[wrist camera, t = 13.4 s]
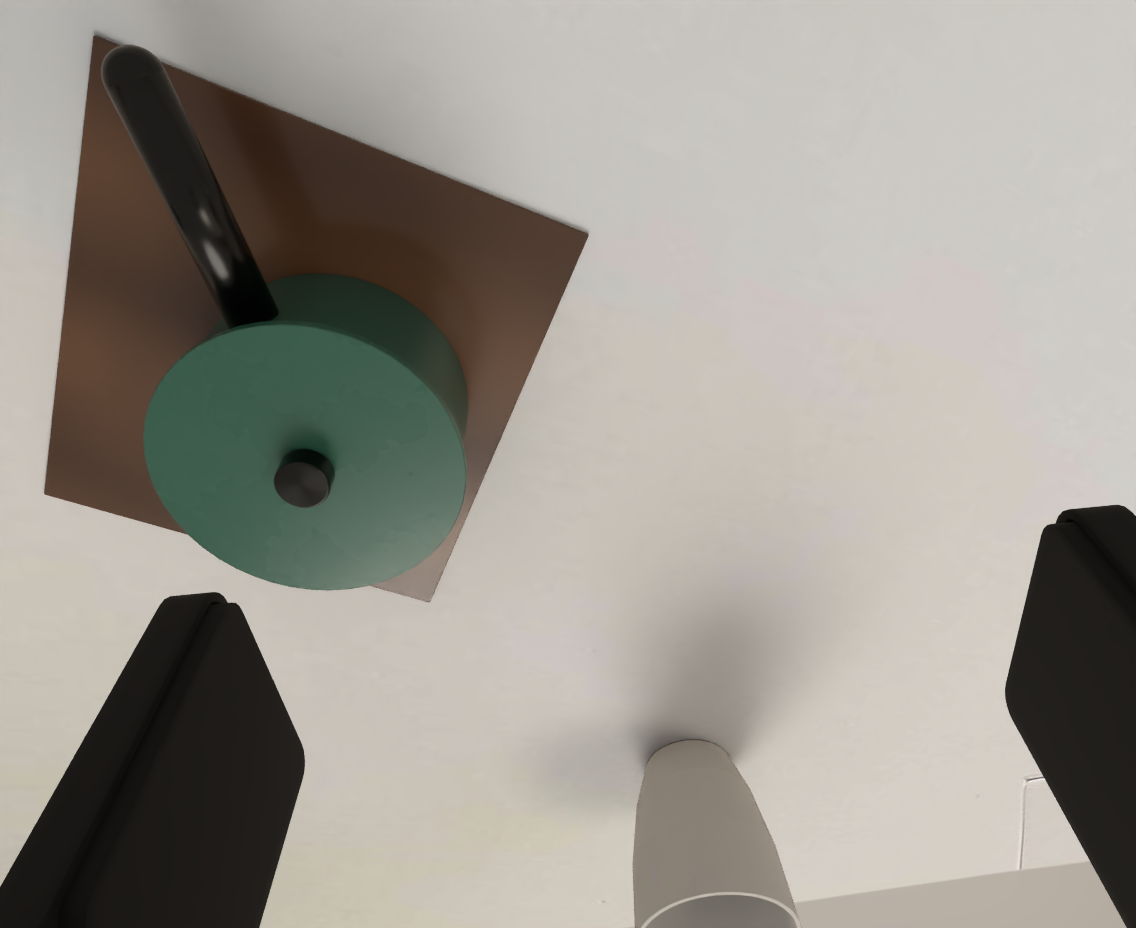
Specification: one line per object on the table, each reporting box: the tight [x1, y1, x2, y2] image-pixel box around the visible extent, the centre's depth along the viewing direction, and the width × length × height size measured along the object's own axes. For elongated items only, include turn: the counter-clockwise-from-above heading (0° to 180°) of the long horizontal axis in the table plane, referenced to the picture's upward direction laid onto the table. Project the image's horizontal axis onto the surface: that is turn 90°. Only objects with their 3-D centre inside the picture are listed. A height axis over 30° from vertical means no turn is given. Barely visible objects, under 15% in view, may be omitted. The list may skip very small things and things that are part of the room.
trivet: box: [44, 36, 588, 602], centre depth 36 cm, size 20×18×1 cm
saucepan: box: [101, 45, 468, 590], centre depth 31 cm, size 12×20×7 cm, turn 14°
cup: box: [633, 740, 801, 928], centre depth 46 cm, size 8×8×10 cm
